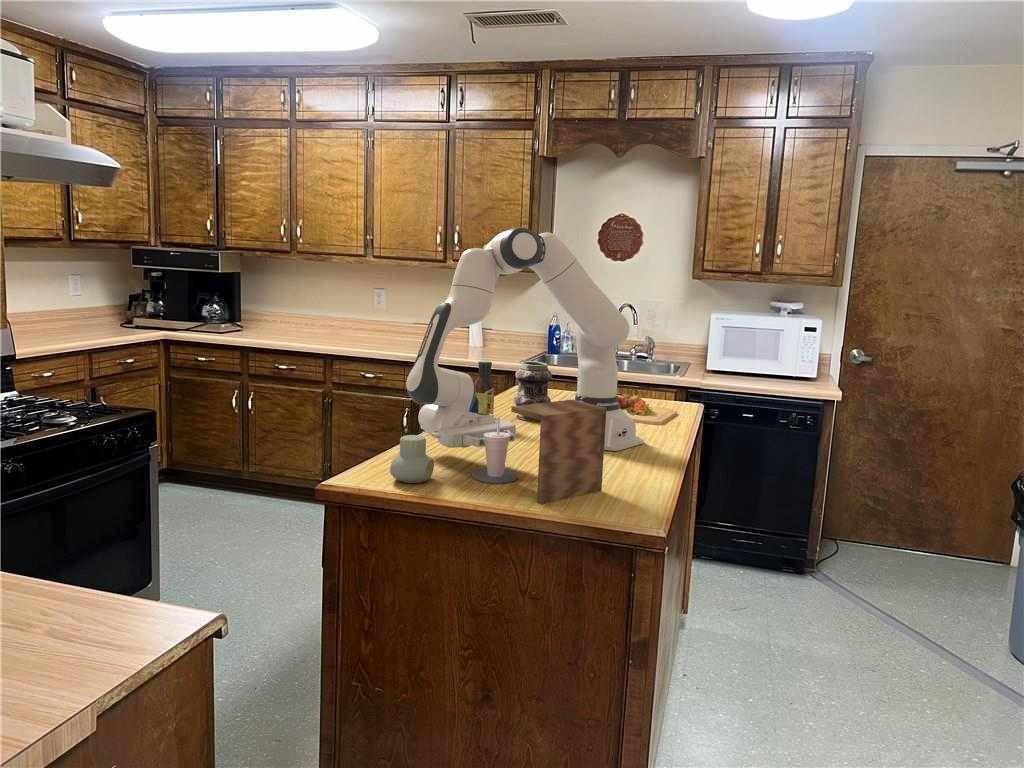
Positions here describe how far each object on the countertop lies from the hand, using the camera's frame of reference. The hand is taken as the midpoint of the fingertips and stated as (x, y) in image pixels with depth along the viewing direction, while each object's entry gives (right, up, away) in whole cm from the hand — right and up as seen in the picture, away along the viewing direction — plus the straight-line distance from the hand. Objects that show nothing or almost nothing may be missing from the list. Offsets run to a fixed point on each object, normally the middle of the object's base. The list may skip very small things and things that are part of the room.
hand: (496, 440), depth 185 cm
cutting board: (+40, +3, +84) cm, 93 cm away
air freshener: (-19, -9, -3) cm, 22 cm away
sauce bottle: (-5, 0, +55) cm, 56 cm away
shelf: (+13, -11, -7) cm, 19 cm away
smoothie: (0, -8, +1) cm, 8 cm away
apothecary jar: (+10, +2, +70) cm, 71 cm away
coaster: (0, -9, +1) cm, 9 cm away
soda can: (-10, -2, +42) cm, 43 cm away
